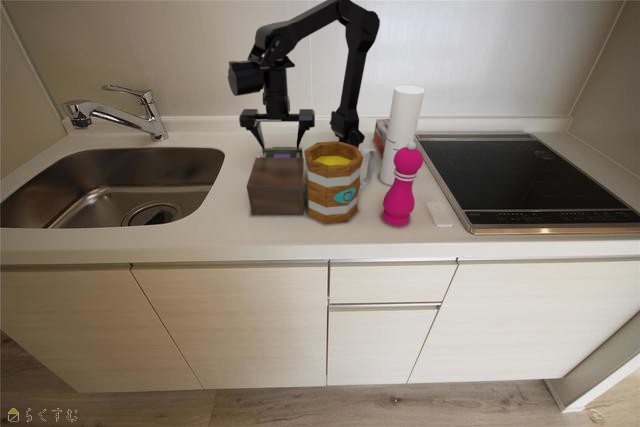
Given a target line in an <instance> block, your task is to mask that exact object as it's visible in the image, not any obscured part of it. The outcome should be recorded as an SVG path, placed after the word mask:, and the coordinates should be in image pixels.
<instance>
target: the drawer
mask: <svg viewBox="0 0 640 427" xmlns="http://www.w3.org/2000/svg"><path fill="white" fill-rule="evenodd" d="M261 152H262V158H274V154H290V155H291V158H304V157H303V156H304V154H303V153H304V151H303V147H299V149H298V150H297V146H272V147H265V149H264V150H263V149H262V148H261Z"/></svg>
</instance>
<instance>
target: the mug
mask: <svg viewBox="0 0 640 427" xmlns="http://www.w3.org/2000/svg"><path fill="white" fill-rule="evenodd" d="M303 153H304V161H305V171H304V184H305V194H306V197H305V207H306V213H307V216H308V217H310V218H312V219H315V220H317V221H318V222H321V223H323V224H326V225H327V224H329V225H330V224H336V223H346V222H348V221H349V220H350V219H351V218H352V217H353V216H354V215H355V214H356V213H357V212H358V198H359V197H358V196H359V192H360V191H364V190H366V189H367V188H368V187H369V186H370V185H371V183H372V180H373V177H374V170H375V165H376V161H377V150H376V149H375V148H374V147H370V146H368V145H366V146H364V147H363V148H362V149H358V147H356V146H353V145H349V144H346V143H343V142H339V140H337V141H336V140H335V141H320V142H315V143H314V144H312V145H311V146H309V147H308V148H306V149H304V150H303ZM368 154H369V159H368V164H367V168H366V169H367V170H366V175H365V176H366V177H365V179H364V180H363V182H362V183H361V171H362V165H363V160H364V159H365V157H366V156H367V155H368Z"/></svg>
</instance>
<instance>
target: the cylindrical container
mask: <svg viewBox="0 0 640 427" xmlns="http://www.w3.org/2000/svg"><path fill="white" fill-rule="evenodd" d="M425 91H426V90H425V89H424V88H423V87H420V86H417V85H410V84H403V85H396V86H394V88H393V94H392V100H391V104H390V113H389V118H388V119H389V124H388V130H387V136H386V142H385V149H384V155H383V156H382V162H381V168H380V173H379V179H380V181H381V182H382V183H384V184H386V185H390V186H392V185H393V183H394V179H395V176H394V175H393V172H394V168H395V165H394V162H393V161H394V156H395V154H396V152H397V151H398V150H399V149H401V148H404V147H407V144H408V143H409V142H411V141H412V142H415V136H416V132H417V128H418V122H419V119H420V113H421V110H422V105H423V100H424V98H425Z"/></svg>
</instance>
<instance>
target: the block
mask: <svg viewBox="0 0 640 427" xmlns="http://www.w3.org/2000/svg"><path fill="white" fill-rule="evenodd" d="M274 158H291V155H290V154H274Z"/></svg>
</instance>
